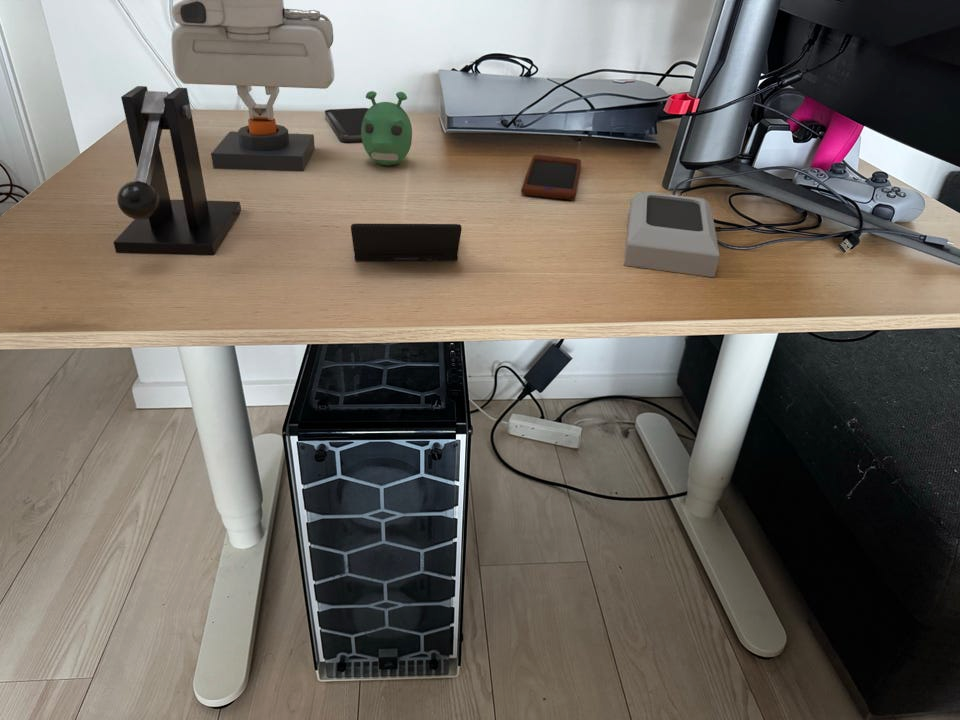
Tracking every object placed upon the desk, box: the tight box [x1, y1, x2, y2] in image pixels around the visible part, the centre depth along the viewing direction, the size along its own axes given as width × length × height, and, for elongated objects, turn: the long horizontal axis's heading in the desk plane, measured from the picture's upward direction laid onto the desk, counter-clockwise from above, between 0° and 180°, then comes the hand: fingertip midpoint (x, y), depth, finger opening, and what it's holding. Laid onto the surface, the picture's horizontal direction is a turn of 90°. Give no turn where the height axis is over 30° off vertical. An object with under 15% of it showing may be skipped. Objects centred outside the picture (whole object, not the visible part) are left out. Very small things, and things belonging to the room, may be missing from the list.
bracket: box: [113, 85, 242, 256], centre depth 74 cm, size 12×10×15 cm
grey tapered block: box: [623, 191, 721, 278], centre depth 81 cm, size 10×4×15 cm
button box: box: [210, 124, 316, 172], centre depth 98 cm, size 12×10×4 cm
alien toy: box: [361, 90, 413, 167], centre depth 97 cm, size 7×8×10 cm
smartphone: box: [520, 154, 582, 201], centre depth 97 cm, size 7×1×15 cm
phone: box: [324, 107, 370, 144], centre depth 113 cm, size 8×1×15 cm
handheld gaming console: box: [350, 223, 463, 262], centre depth 74 cm, size 12×7×10 cm
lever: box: [116, 90, 170, 220], centre depth 69 cm, size 14×4×4 cm
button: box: [247, 118, 277, 135], centre depth 97 cm, size 4×4×2 cm
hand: (262, 119), depth 96 cm, fingers closed
